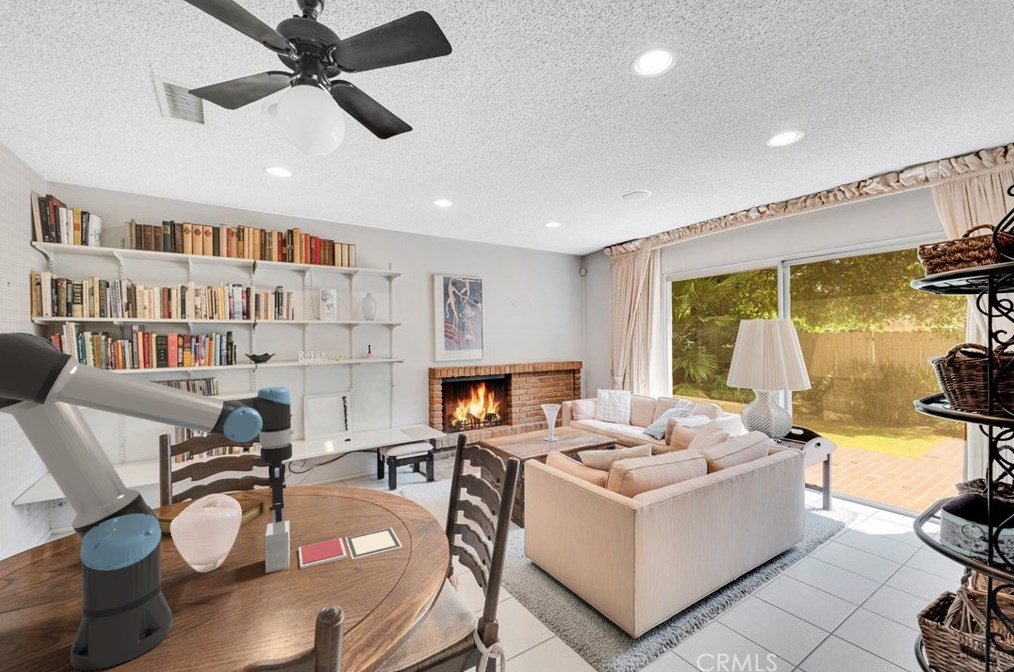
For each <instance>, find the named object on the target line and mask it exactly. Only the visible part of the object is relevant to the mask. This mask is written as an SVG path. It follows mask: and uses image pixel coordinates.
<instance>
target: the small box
mask: <svg viewBox="0 0 1014 672" xmlns="http://www.w3.org/2000/svg"><path fill="white" fill-rule="evenodd" d="M290 528H291V527H290V520H285V532H284V533H280V534H275V535H273V522H272V523H267V524H266V529H265V533H264V550H265V551H264V552H265V553H264V555H265V556H264V559H265V565H264V567H265V574H267V573H273V572H279V571H283V570H286V569H287V570H288V569H289V568H290V556H291V544H290V543H291V542H290V541H291V539H290V537H291V536H290Z"/></svg>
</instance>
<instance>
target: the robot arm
mask: <svg viewBox="0 0 1014 672" xmlns="http://www.w3.org/2000/svg"><path fill="white" fill-rule="evenodd" d="M291 405H292V403H291V397H290V390H289V389H288V388H287V387H285V386H273V387H272V386H271V387H264V388H260V389H259V390H258V392H257V395H256V396H254V397H251V398H241V399H240V398H238V399H229V400H222V399H219V398H216V397H210V396H207V395H204V394H199V393H196V392H192V391H189V390H185V389H180V388H176V387H173V386H169V385H165V384H160V383H157V382H153V381H150V380H146V379H142V378H138V377H134V376H129V375H127V374H123V373H119V372H116V371H112V370H107V369H104V368H99V367H96V366H92V365H88V364H84V363H80V361H78V359H77V357H76V356H75V355H71V354H69V353H65V352H64V353H63V352H61V351H60V349H59V348H58V347H57V345H54V344H53V343H52V342H51V341H49V340H48V339H46V337H45V338H44V337H41V336H40V335H36V334H33V333H28V332H1V333H0V413H4V414H10V415H12V416H13V418H14V419H15V421H16V422H17V424H18V425H19V427H20V429H21V430H22V431H23V433H24V435H25V436H26V438H27V439H28V441H29V443H30V444H31V446H32V447H33V449H34V451H36V454H37V455H38V456H39V458H40V459H41V462H43V464H44V466H45V467H46V469H47V470H48V472H49V473H50V475H51V476H52V478H53V480H54V481H55V483H56V485H57V486H58V487H59V489H60V490H61V492H62V494H63V495H64V497H65V498H66V500H67V501H68V503H69V504H70V506H71V508H72V509H73V511H74V512H75V514H76V515H75V518H74V519H73V521H72V523H71V526H72V529H73V530H74V531H75V533H76V535H77V536H78V538H79V539H80V541H81V546H80V548H79V549H80V550H79V557H80V558H79V559H81V577H82V578H81V583H82V584H81V585H82V586H81V587H82V588H81V589H82V592H81V593H82V616H81V617H82V618H81V621H80V622H79V623H80V624H79V626H78V628H77V630H76V631H77V632H76V634H75V637H74V640H73V642H72V645H71V647H70V665H71V667H72V666H73V667H74V668H73V667H72V668H73V669H75V668H76V669H75V670H77V669H80V670H79V671H82V670H93V671H97V670H96V669H100V670H103V669H102V668H105V669H107V668H106V667H109V666H112V667H114V666H113V665H116V664H119V665H120V663H121V664H123V663H122V662H124V663H126V662H125V661H127V662H128V660H129V661H131V660H133V659H136V658H137V657H140V656H141V655H143V654H145V653H147V652H149V651H150V650H152V649H153V648H154V647H156V646H157V645H159V644H160V643H161V642H162V641H163V640H165V639H166V637H168V635H169V634H170V632H171V631H172V629H173V625H174V624H173V623H174V622H173V613H172V611H171V608H170V606H169V604H168V602H167V600H166V598H165V596H164V594H163V592H162V572H161V571H162V570H161V569H162V567H161V565H162V563H161V538H162V532H161V525H160V521H158V519H157V518H158V516H157V513H156V511H154V509H153V508H151V507H150V505H148V504H147V503H146V501H145V500H144V498H143V497H142V494H141V493H140V491H139V490H137V489H129V488H127V487H126V486H125V484H124V483H123V480H122V479H121V477H120V475H119V474H118V472H117V470H116V468H115V467H114V466H113V463H111V460H110V459H109V457H108V456H107V454H106V452H105V450H104V449H103V447H102V446H101V444H100V442H99V440H98V439H97V437H96V436H95V434H94V432H93V431H92V429H91V428H90V425H89V424H88V422H87V421H86V419H85V417H84V416H83V415H84V414H82V412H81V411H80V409H79V407H83V408H88V409H92V410H97V411H103V412H107V413H112V414H117V415H121V416H125V417H126V416H127V417H130V418H135V419H136V418H137V419H140V420H146V421H150V422H154V423H155V422H156V423H161V424H165V425H170V426H174V427H177V428H182V429H183V428H184V429H188V430H192V431H193V430H194V431H199V432H202V433H207V434H211V435H215V436H220V437H223V438H227V439H229V440H230V441H233V442H236V443H238V442H239V443H245V442H248V441H249V442H250V441H251V440H253V439H255V438H256V437H257V436H258V435H259V446H260V449H259V450H260V451H259V452H260V454H259V455H260V461H261V462H262V463H266V464H269V463H270V464H271V465H269V466H268V476H269V483H270V486H271V490H272V491H271V494H272V495H271V496H272V498H271V499H272V503H271V504H272V506H271V507H268V508H269V512H271V514H272V515H271V516H272V523H273V535H275V534H280V533H284V532H285V521H286V520H285V519H286V518H285V515H286V514H285V510H286V509H285V490H284V489H286V488H287V484H286V483H285V480H286V479H285V474H286V463H283V461H287V460H289V459H291V458H292V457H293V445H292V443H291V442H292V435H293V434H294V433H295V431H294V430H292V424H291V423H292V421H291V418H292V417H291V414H292V413H291V410H292V409H291ZM78 406H79V407H78ZM116 666H117V665H116ZM109 668H110V667H109Z"/></svg>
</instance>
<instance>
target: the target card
mask: <svg viewBox="0 0 1014 672" xmlns="http://www.w3.org/2000/svg"><path fill="white" fill-rule="evenodd" d="M344 538H345V539H344V540H345V543H346V545H347V548H348V551H349V555H350V558H351V560H357V559H360V558H365V557H369V556H373V555H378V554H382V553H387V552H391V551H396V550H399V549H403V547H404V546H403V545H402V543H401V541H400V539H399V538H398V536H397V535H396V533H395V531H394V529H393V528H392V527H388V528H383V529H378V530H374V531H370V532H369V531H368V532H366V533H361V534H357V535H353V536H352V535H351V536H348V537H344Z"/></svg>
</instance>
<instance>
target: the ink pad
mask: <svg viewBox="0 0 1014 672" xmlns="http://www.w3.org/2000/svg"><path fill="white" fill-rule="evenodd" d="M298 555H299V558H298V559H299V568H300V570H301V569H307V568H310V567H311V568H312V567H315V566H319V565H324V564H329V563H333V562H338V561H342V560H346V559H348V555H347V551H346V548H345V545H344V541H343V539H342V537H339V538H335V539H331V540H326V541H321V542H317V543H312V544H308V545H304V546H298Z"/></svg>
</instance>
